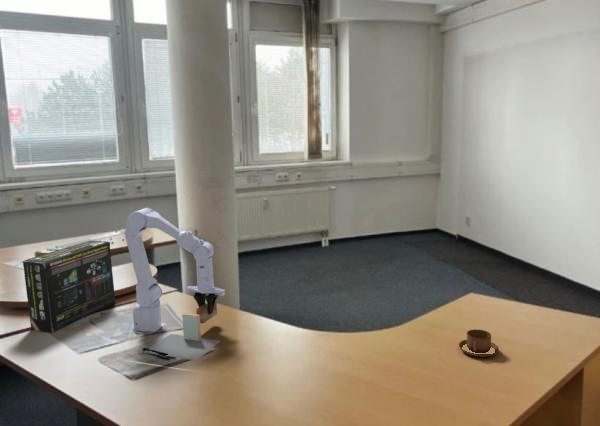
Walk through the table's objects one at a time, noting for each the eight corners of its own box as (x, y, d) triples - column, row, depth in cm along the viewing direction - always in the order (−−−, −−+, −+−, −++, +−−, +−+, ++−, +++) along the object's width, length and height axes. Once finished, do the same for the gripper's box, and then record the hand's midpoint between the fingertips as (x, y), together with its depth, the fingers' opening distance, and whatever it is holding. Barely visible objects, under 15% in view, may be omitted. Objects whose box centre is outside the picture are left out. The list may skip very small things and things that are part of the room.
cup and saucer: (501, 361, 161) (502, 342, 160) (460, 358, 164) (461, 340, 163) (495, 345, 173) (495, 327, 172) (457, 343, 175) (457, 325, 174)
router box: (95, 300, 227) (90, 239, 223) (116, 302, 223) (112, 241, 219) (27, 330, 194) (20, 260, 189) (51, 334, 190) (43, 262, 186)
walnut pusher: (197, 322, 186) (196, 309, 185) (211, 313, 195) (210, 300, 195) (203, 323, 185) (202, 309, 184) (217, 313, 195) (216, 300, 194)
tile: (183, 339, 182) (182, 314, 180) (185, 337, 183) (184, 313, 181) (198, 341, 180) (197, 316, 178) (200, 339, 181) (199, 314, 179)
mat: (143, 353, 172) (142, 352, 172) (170, 335, 187) (170, 334, 186) (196, 361, 165) (196, 360, 165) (221, 342, 180) (221, 340, 180)
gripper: (228, 275, 189) (230, 311, 191) (193, 272, 194) (195, 307, 196) (219, 280, 182) (220, 318, 185) (182, 277, 187) (184, 313, 190)
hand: (206, 313), depth 190 cm, fingers closed on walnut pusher, 2 cm apart
